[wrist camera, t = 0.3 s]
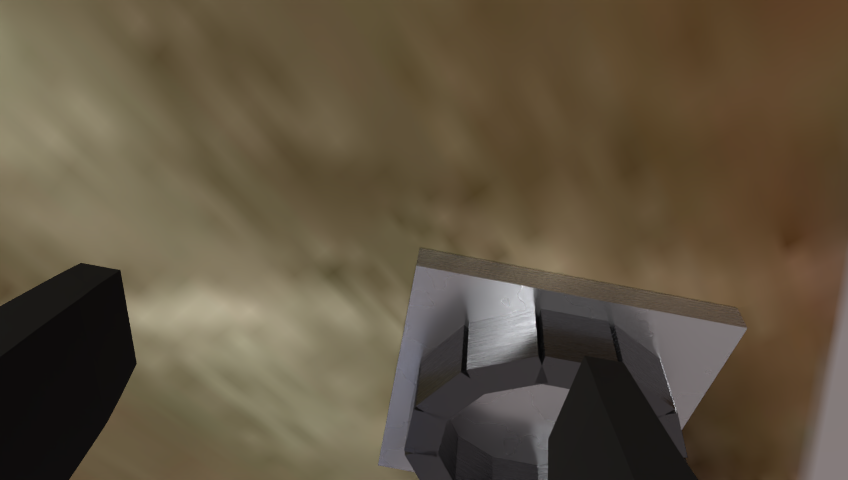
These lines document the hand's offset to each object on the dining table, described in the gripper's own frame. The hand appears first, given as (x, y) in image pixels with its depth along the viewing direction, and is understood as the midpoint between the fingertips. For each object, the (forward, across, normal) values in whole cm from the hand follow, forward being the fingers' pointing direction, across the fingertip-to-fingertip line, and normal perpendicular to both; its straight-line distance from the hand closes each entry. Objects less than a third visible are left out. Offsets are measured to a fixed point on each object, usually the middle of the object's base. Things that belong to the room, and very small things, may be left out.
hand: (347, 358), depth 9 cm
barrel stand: (+10, -6, +10) cm, 16 cm away
